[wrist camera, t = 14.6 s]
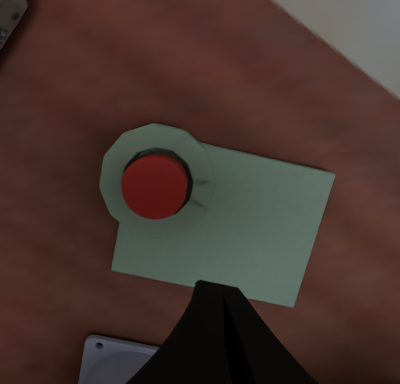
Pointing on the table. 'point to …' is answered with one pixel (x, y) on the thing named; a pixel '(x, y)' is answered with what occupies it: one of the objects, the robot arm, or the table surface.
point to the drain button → (154, 186)
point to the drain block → (219, 216)
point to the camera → (10, 17)
